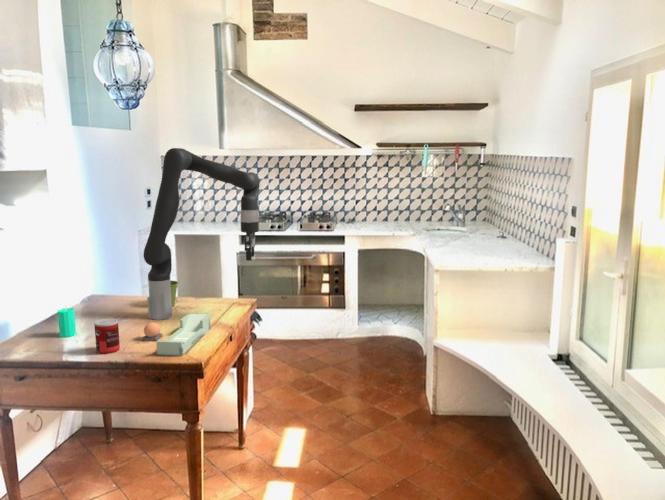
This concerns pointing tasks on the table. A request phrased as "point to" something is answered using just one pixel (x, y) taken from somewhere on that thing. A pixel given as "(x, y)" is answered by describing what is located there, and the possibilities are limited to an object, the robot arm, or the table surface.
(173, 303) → the plant pot
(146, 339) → the grey picture frame
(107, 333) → the canned food
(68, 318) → the candle
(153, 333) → the ball
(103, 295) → the table surface
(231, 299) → the table surface
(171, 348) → the lane
